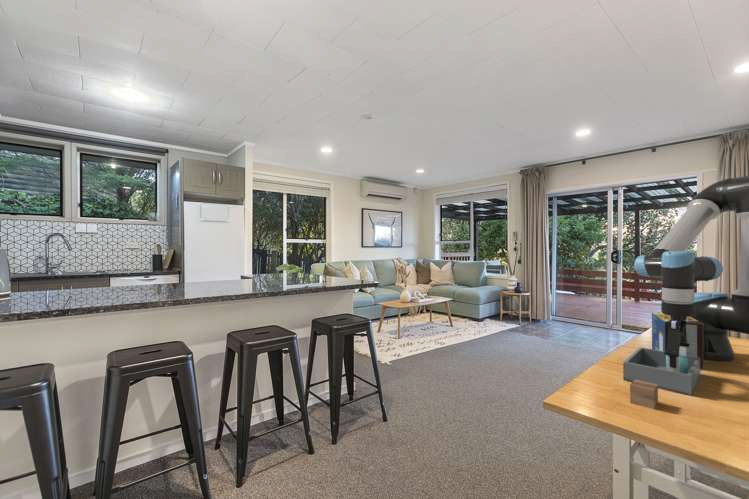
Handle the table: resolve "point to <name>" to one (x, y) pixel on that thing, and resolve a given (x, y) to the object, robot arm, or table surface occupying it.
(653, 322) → the protein box
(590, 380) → the table surface
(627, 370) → the tote
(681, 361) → the teal cylinder
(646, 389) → the walnut cube
